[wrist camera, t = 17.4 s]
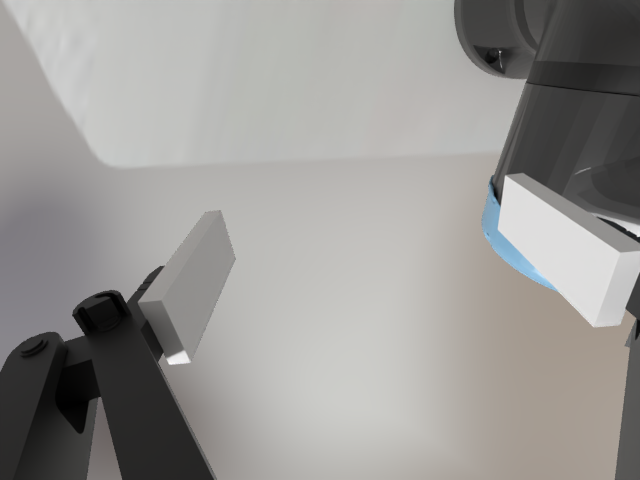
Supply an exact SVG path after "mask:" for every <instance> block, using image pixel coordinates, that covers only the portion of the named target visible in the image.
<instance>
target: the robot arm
mask: <svg viewBox="0 0 640 480" xmlns="http://www.w3.org/2000/svg"><path fill="white" fill-rule="evenodd" d="M454 17H455V26H456V31H457V35H458V38H459V41H460V43H461V46H462V48H463V50H464V51H465V53H466V55H467V56H468V57H469V59H470V60H471V61H472V62H473V63H474V64H475V65H476V66H478V67H479V68H480V69H482V70H483V71H485V72H487V73H489V74H492V75H494V76H498V77H503V78H511V79H527V81H526V83H525V86H524V89H523V92H522V95H521V98H520V101H519V104H518V107H517V110H516V112H515V115H514V118H513V121H512V124H511V127H510V130H509V133H508V136H507V139H506V142H505V145H504V148H503V151H502V154H501V157H500V160H499V163H498V166H497V169H496V171H495V174H494V175H492V177H491V179H490V181H489V185H488V187H489V193H488V197H487V201H486V204H485V208H484V211H483V215H482V229H483V232H484V234H485V236H486V238H487V240H488V241H489V242H490V244H491V246H492V248H493V249H494V250H495V251H496V252H497V254H498V255H499V256H500V257H501V258H503V259H504V260H505V261H506V262H507V263H508V264H510V265H511V266H512V267H514V268H515V269H516V270H518V271H519V272H521V273H522V274H524V275H526V276H527V277H529V278H531V279H532V280H534V281H536V282H538V283H540V284H542V285H544V286H546V287H548V288H550V289H553V290H555V291H557V292H560V293H561V294H562V295H563V296H564V297H565V298H566V299H567V300H568V301H569V303H571V305H572V306H573V307H574V308H575V309H576V310H577V311H578V312H579V313H580V314H581V315H582V316H583V317H584V318H585V319H586V320H587V321H588V322H589V323H590V324H591V325H592V326H593V327H603V326H615V325H620V323H621V321H622V318H623V316H624V313H625V311H626V310H628V311H629V312H630V313H631V314H632V315H634V316H635V317H636V321H635V323H634V326H633V328H632V330H631V332H630V335H629V337H628V339H627V341H626V344H625V346H627V347H630V353H629V362H628V371H627V380H626V388H625V396H624V405H623V414H622V423H621V431H620V440H619V448H618V457H617V466H616V474H615V480H640V0H455V3H454ZM235 259H236V258H235V255H234V252H233V248H232V245H231V242H230V239H229V235H228V232H227V229H226V225H225V222H224V219H223V216H222V212H221V210H219V211H210V212H205V213H204V215H203V216H202V217H201V218H200V220H199V221H198V223H197V224H196V225H195V227H194V228H193V229H192V230H191V232H190V233H189V234H188V236H187V237H186V239H185V240H184V241H183V243H182V244H181V245H180V247H179V248H178V249H177V251H176V252H175V253H174V255H173V256H172V257H171V259H170V260H169V261H168V263H167V264H166V265H165V266H160V267H158V268H157V269H156V270H154V271H153V272H152V273H150V274H149V275H148V277H147V278H146V279H145V280H144V282H143V284H141V285H140V287H139V288H138V289H137V291H136V292H135V293H134V294H133V296H132V297H131V298H130V299H129V300H128V302H127V303H126V302H125V301H124V299H123V297H122V295H121V293H120V292H118V291H115V290H109V291H103V292H100V293H97V294H95V295H93V296H91V297H89V298H87V299H85V300H84V301H82V302H81V303H80V304H79V305H77V307H76V308H75V309H74V310H73V314H72V316H73V317H74V319H75V320H76V322H77V323H78V325H79V326H80V328H81V329H82V331H83V332H84V334H85V336H81V337H78V338H75V339H72V340H68V341H65V342H64V341H63V339H62V338H61V336H60V335H59V334H58V333H56V332H46V333H43V334H39V335H37V336H34V337H31V338H29V339H27V340H26V341H24V342H22V343H21V344H20V345H19V346H18V347H16V348H15V349H14V350H13V351H12V352H11V354H10V355H9V356H8V358H7V359H6V362H5V364H4V366H3V368H2V370H1V372H0V480H86V479H87V473H88V465H89V458H90V451H91V445H92V437H93V430H94V424H95V417H96V409H97V402H98V397H101V398H102V402H103V405H104V409H105V413H106V417H107V421H108V425H109V429H110V433H111V437H112V440H113V445H114V449H115V452H116V456H117V460H118V464H119V468H120V472H121V476H122V480H217V478H216V476H215V474H214V472H213V470H212V468H211V466H210V464H209V462H208V460H207V458H206V456H205V454H204V452H203V450H202V448H201V446H200V444H199V442H198V440H197V438H196V436H195V434H194V432H193V431H192V428H191V427H190V425H189V423H188V421H187V419H186V417H185V415H184V413H183V411H182V409H181V407H180V405H179V403H178V401H177V399H176V397H175V395H174V393H173V391H172V389H171V387H170V385H169V383H168V381H167V379H166V377H165V375H164V373H163V371H162V369H161V367H160V365H159V364H158V361H159V359H160V358H161V356H162V354H163V353H164V355H165V357H166V359H167V361H168V363H169V364H182V363H191V361H192V358H193V356H194V354H195V352H196V349H197V347H198V345H199V342H200V340H201V338H202V336H203V333H204V331H205V329H206V326H207V324H208V322H209V319H210V317H211V315H212V312H213V310H214V308H215V305H216V303H217V301H218V298H219V296H220V294H221V291H222V289H223V287H224V285H225V282H226V280H227V277H228V275H229V273H230V270H231V268H232V266H233V264H234V261H235Z"/></svg>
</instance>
